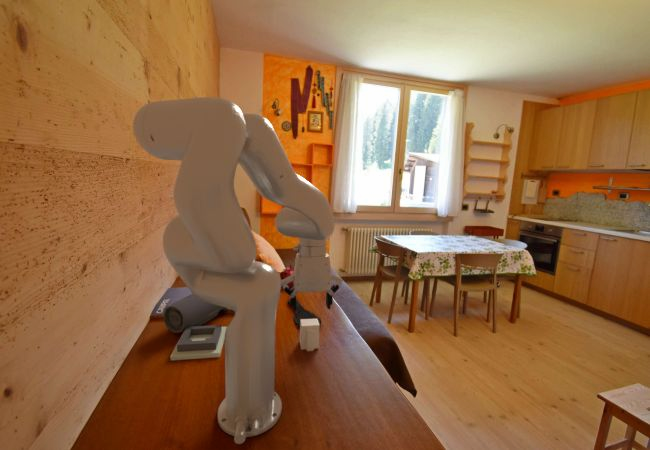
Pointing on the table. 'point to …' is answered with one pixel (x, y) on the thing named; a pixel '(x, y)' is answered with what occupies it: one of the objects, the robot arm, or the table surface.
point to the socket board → (200, 343)
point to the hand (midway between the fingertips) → (311, 307)
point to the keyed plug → (309, 334)
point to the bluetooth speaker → (189, 313)
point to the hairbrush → (303, 313)
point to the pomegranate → (287, 273)
